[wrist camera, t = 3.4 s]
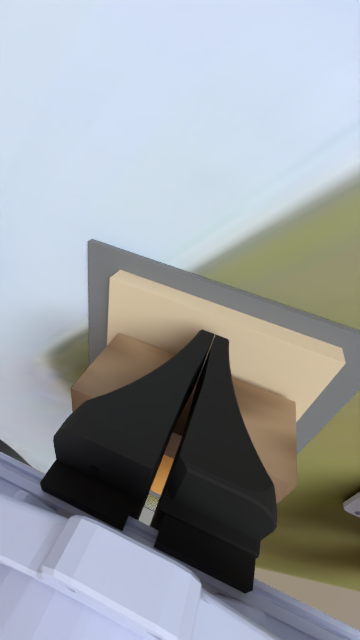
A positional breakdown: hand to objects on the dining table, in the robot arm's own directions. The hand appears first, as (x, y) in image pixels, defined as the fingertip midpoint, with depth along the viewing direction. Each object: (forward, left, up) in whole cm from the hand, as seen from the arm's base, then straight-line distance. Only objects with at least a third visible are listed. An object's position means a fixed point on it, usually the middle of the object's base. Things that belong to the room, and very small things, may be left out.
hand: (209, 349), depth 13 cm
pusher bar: (0, +3, -1) cm, 3 cm away
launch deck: (0, +15, -3) cm, 15 cm away
